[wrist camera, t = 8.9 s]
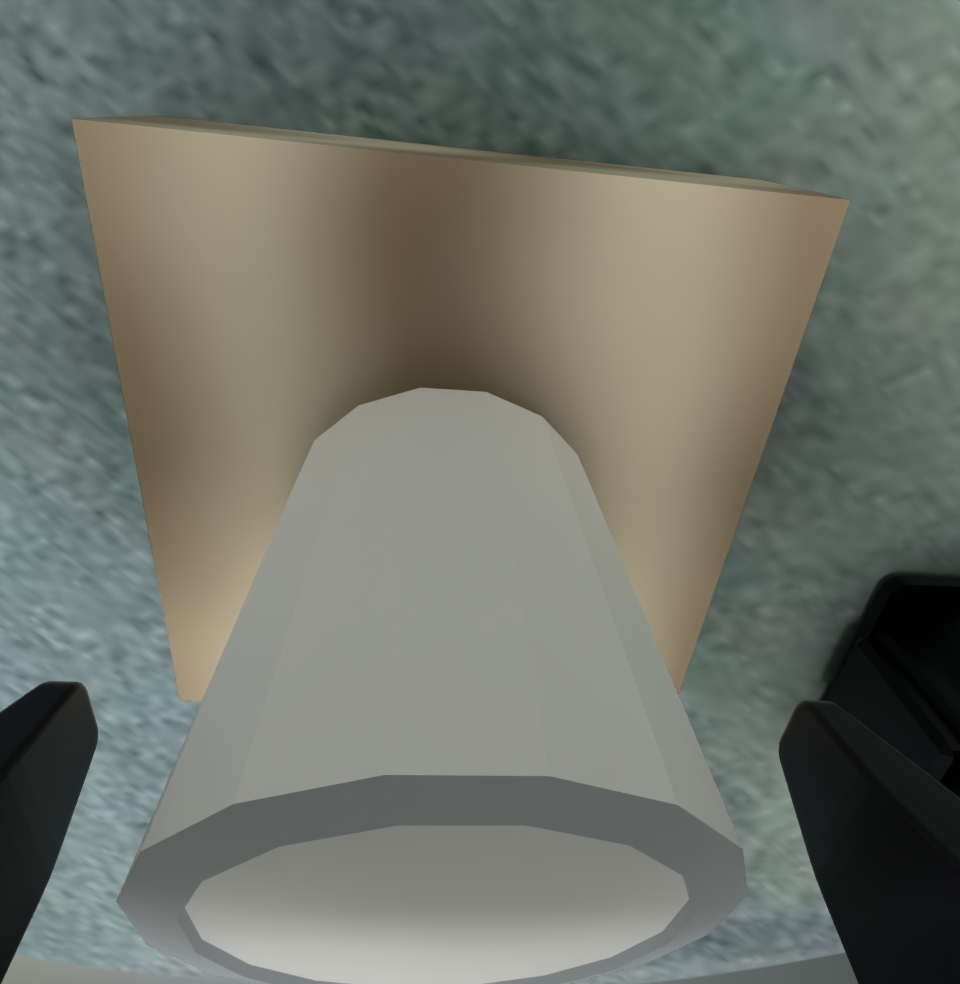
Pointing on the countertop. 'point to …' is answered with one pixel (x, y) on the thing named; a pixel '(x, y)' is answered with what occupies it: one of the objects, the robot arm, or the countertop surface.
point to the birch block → (439, 334)
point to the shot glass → (437, 732)
